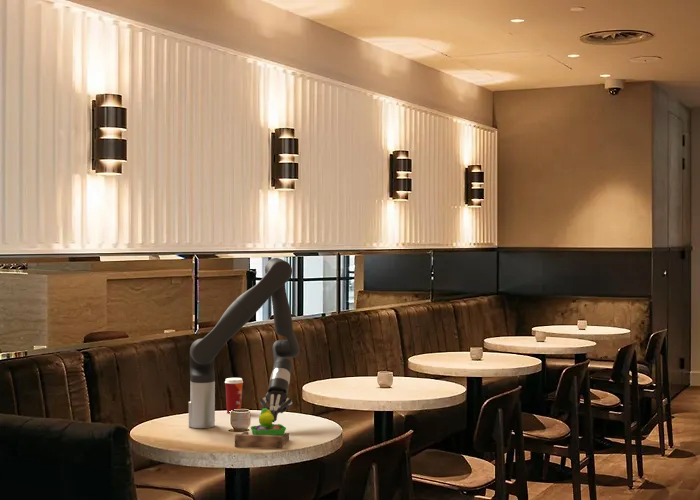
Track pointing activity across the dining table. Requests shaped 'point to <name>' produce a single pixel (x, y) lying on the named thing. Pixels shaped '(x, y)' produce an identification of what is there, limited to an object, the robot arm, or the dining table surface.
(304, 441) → the dining table surface
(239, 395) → the paper cup
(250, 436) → the frame
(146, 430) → the dining table surface
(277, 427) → the fruit basket
